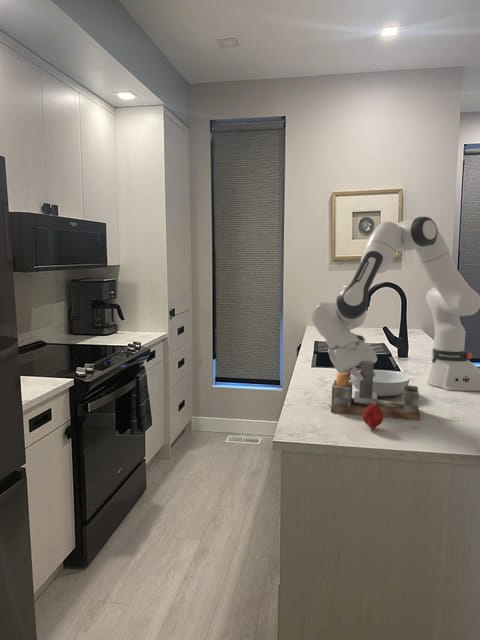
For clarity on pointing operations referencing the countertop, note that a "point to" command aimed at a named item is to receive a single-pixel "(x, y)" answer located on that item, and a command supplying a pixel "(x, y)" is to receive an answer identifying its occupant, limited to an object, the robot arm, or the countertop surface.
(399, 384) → the serving bowl
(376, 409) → the onion
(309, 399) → the countertop surface
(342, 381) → the gauge button
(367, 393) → the carriage
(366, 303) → the robot arm
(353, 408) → the rail deck
